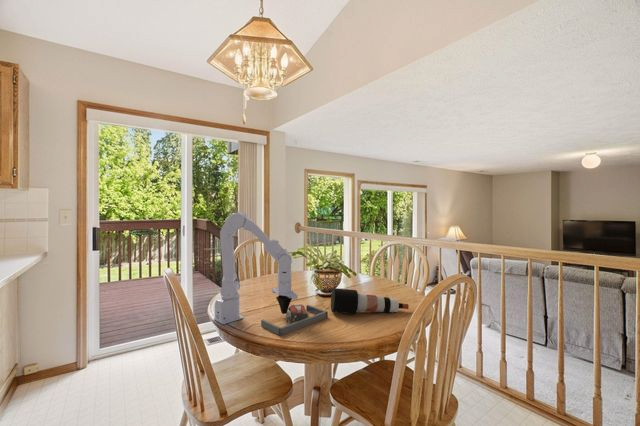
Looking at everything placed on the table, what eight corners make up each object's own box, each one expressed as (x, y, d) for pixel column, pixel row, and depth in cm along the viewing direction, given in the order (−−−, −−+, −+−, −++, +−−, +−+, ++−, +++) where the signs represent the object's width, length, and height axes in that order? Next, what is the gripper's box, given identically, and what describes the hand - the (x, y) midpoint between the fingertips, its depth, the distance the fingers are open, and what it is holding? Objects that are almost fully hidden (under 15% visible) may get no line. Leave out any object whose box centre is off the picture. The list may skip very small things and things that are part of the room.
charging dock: (280, 336, 106) (280, 329, 106) (261, 326, 115) (261, 319, 115) (327, 317, 124) (327, 311, 124) (308, 310, 133) (308, 304, 133)
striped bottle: (407, 323, 130) (414, 306, 125) (331, 317, 127) (335, 299, 122) (401, 306, 139) (407, 290, 134) (330, 299, 136) (333, 283, 131)
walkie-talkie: (284, 311, 132) (287, 329, 112) (284, 301, 132) (287, 318, 112) (303, 310, 134) (310, 328, 114) (303, 300, 134) (310, 317, 114)
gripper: (303, 282, 122) (303, 315, 122) (281, 276, 132) (281, 306, 133) (290, 285, 117) (289, 319, 117) (268, 279, 127) (268, 310, 128)
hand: (284, 313), depth 125 cm, fingers closed
